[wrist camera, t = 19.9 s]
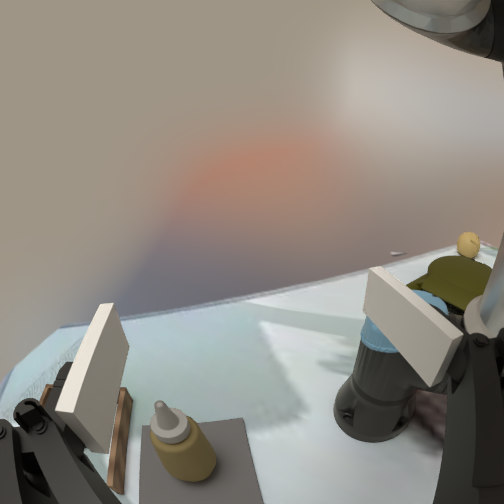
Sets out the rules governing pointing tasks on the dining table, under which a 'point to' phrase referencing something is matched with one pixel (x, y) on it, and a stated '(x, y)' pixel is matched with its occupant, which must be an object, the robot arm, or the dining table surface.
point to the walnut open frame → (113, 438)
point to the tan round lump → (468, 244)
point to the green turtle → (454, 280)
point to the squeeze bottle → (181, 444)
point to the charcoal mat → (213, 487)
